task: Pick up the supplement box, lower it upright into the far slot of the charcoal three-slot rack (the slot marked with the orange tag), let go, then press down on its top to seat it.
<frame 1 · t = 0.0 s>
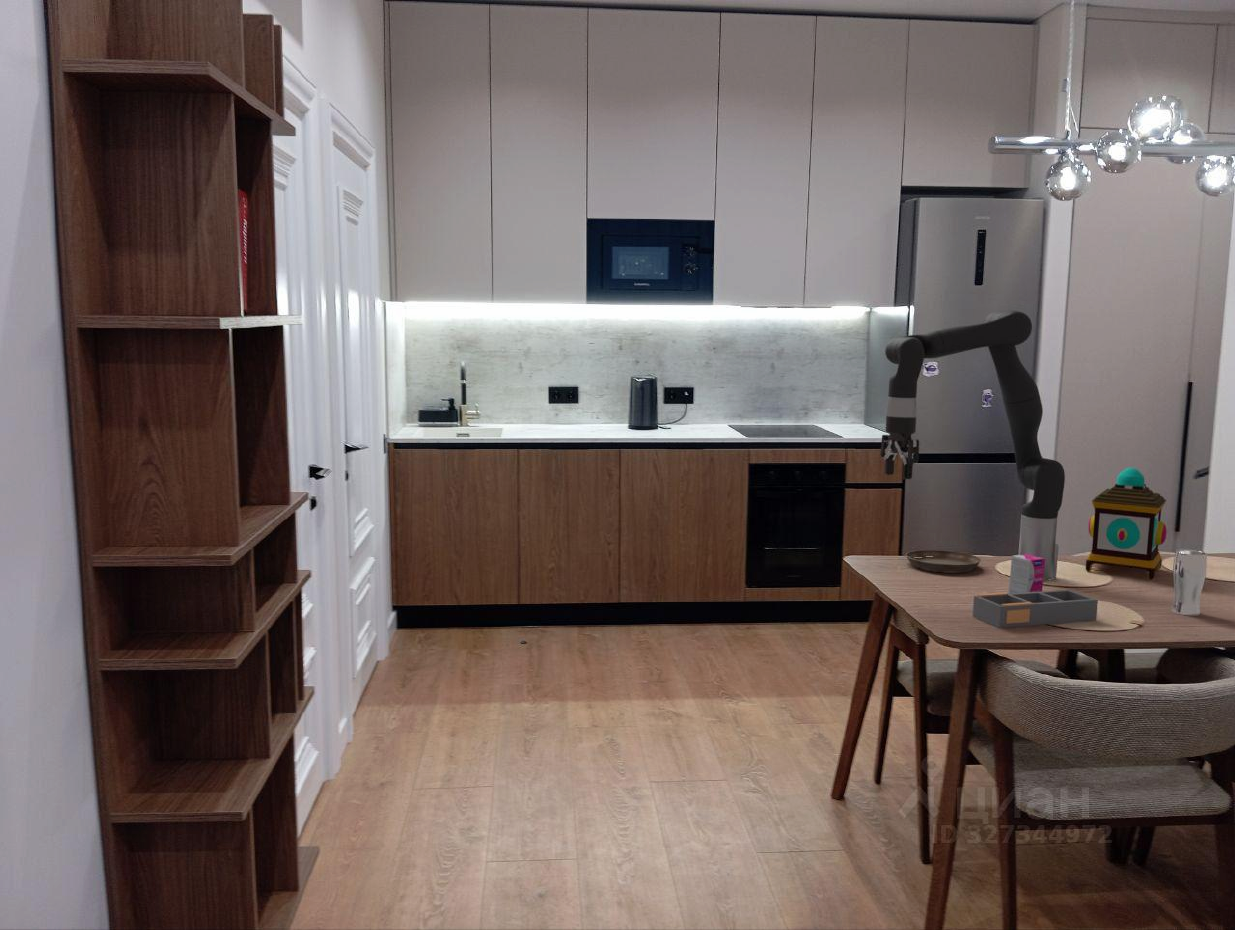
hand: (898, 476, 256), 29 cm above the table, tool pointing down, fingers open, 8 cm apart
supplement box: (1024, 601, 247), on the table
rack: (1034, 618, 231), on the table
plant saucer: (942, 568, 283), on the table
beer glass: (1185, 613, 238), on the table
decorative lantern: (1123, 571, 282), on the table
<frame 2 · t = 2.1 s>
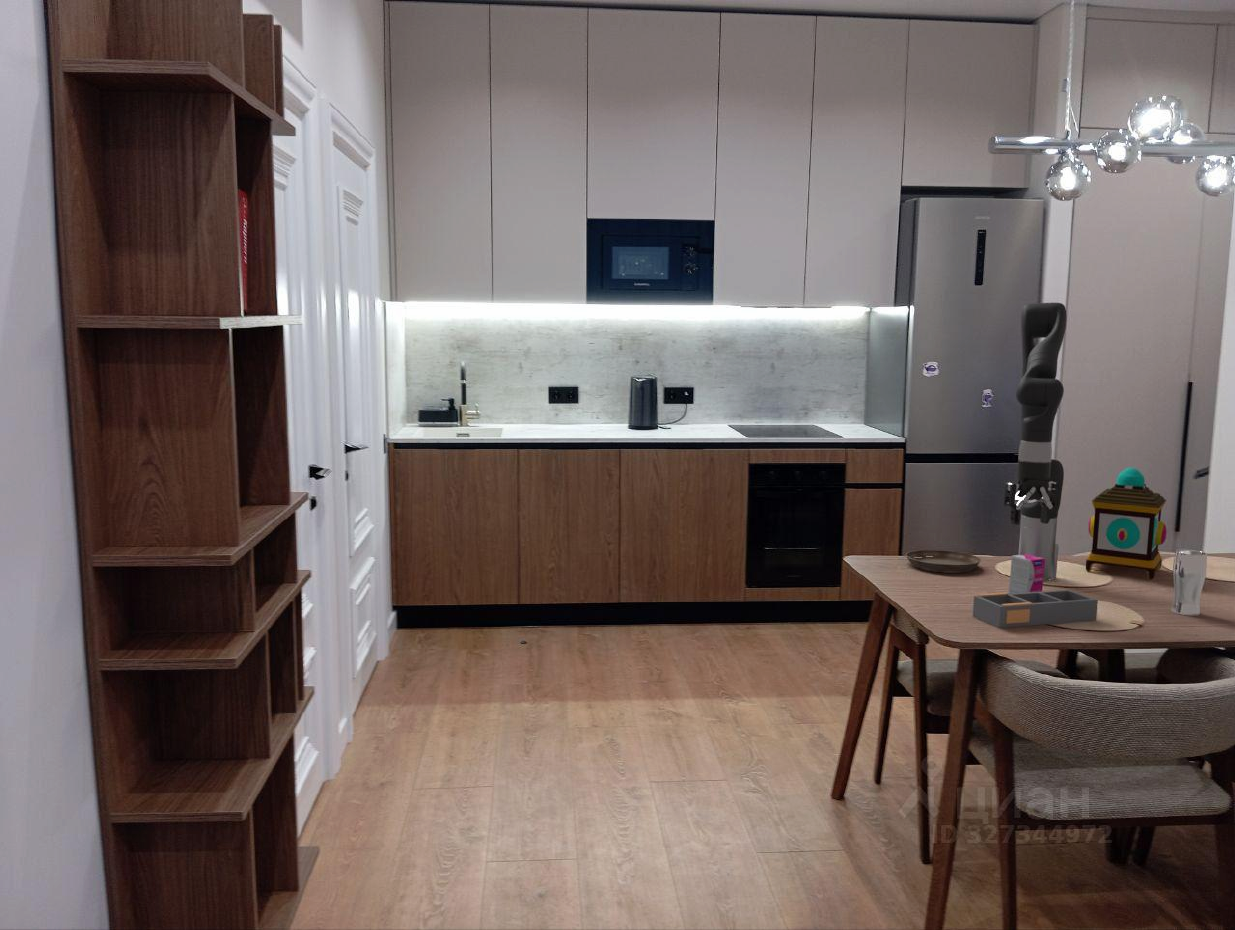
hand: (1029, 523, 244), 20 cm above the table, tool pointing down, fingers open, 8 cm apart
nothing on the table moved.
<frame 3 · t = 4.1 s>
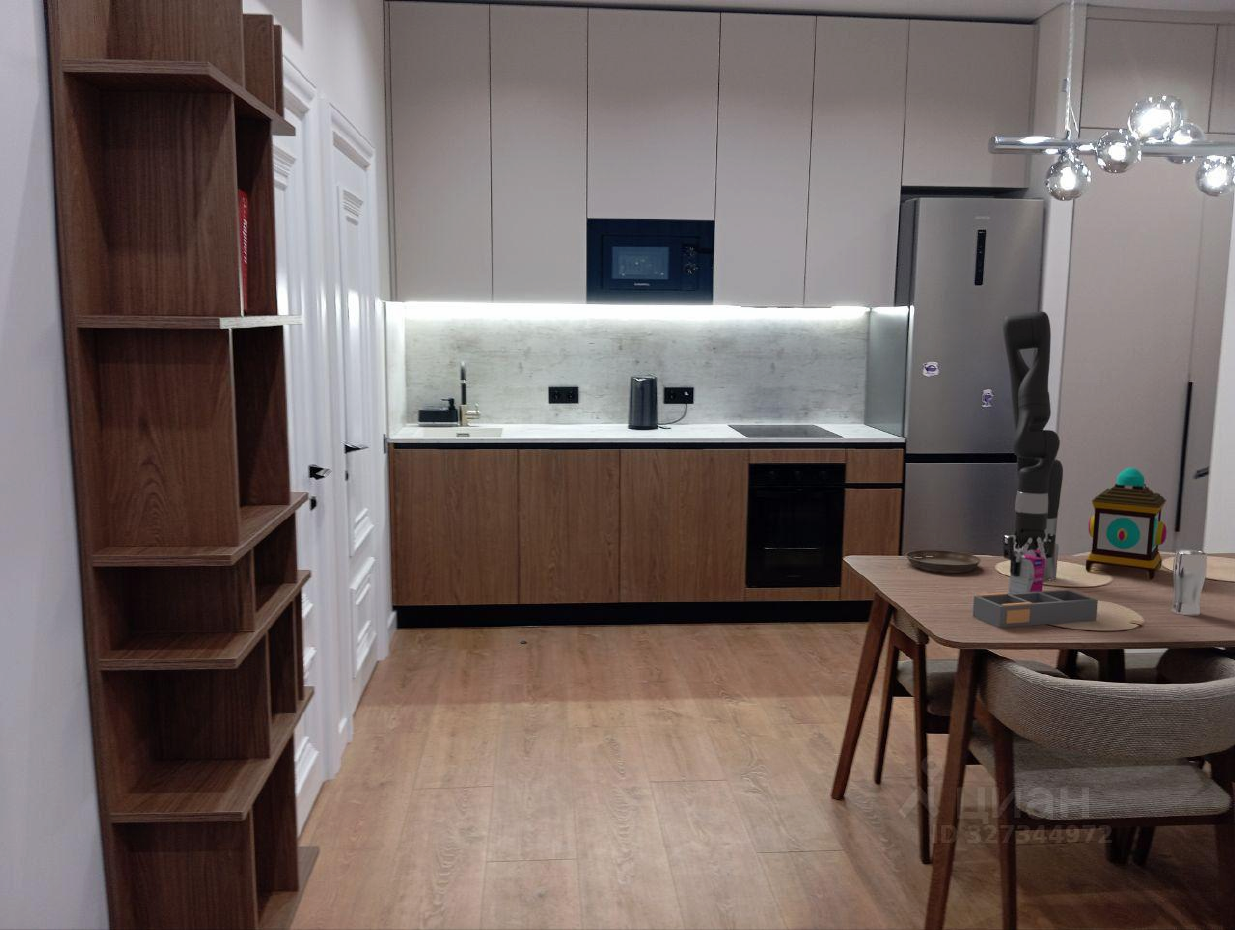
hand: (1026, 575, 246), 7 cm above the table, tool pointing down, fingers closed on supplement box, 6 cm apart
supplement box: (1024, 601, 247), on the table, touching gripper
everything else where it was.
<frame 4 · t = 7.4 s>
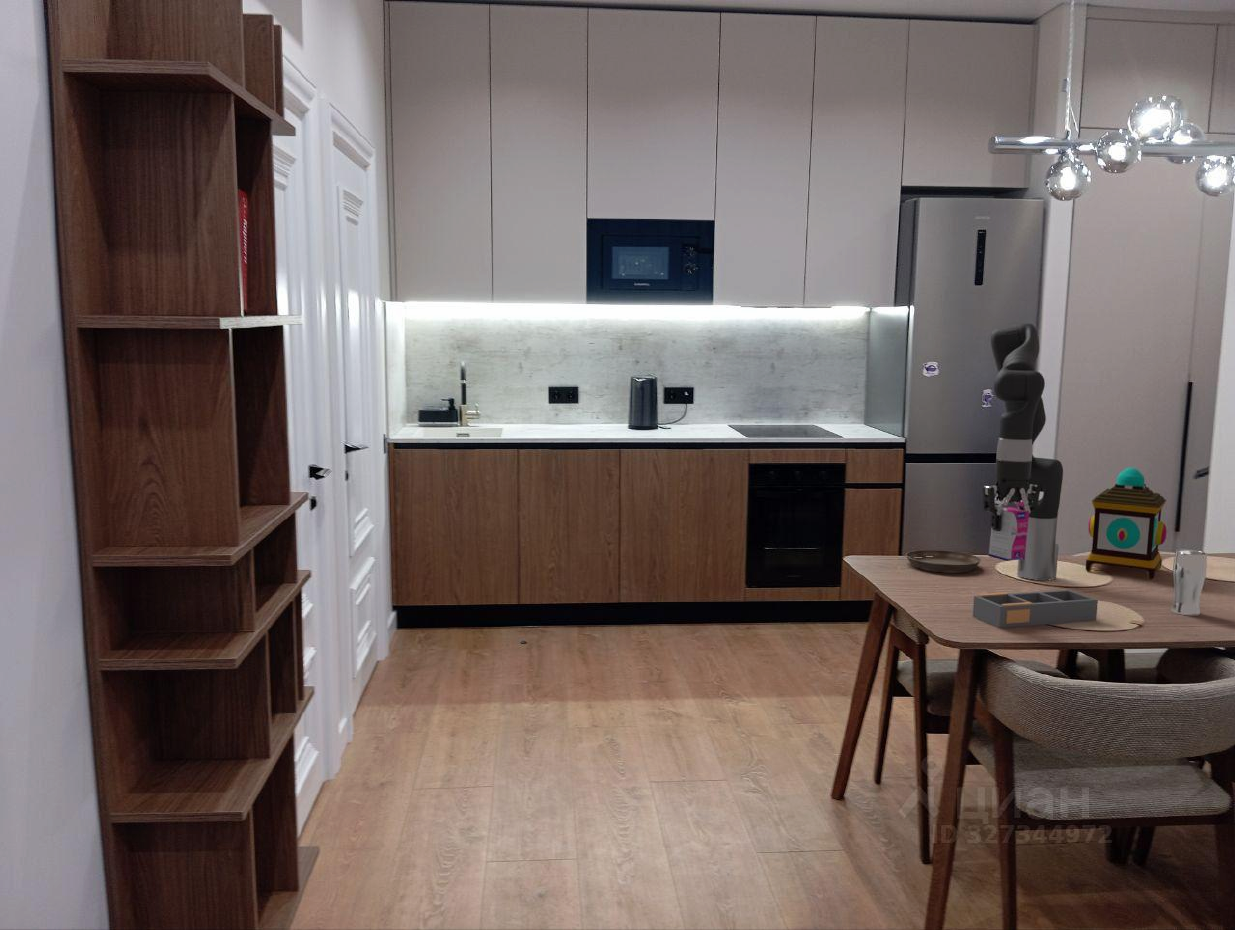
hand: (1009, 529, 226), 22 cm above the table, tool pointing down, fingers closed on supplement box, 6 cm apart
supplement box: (1006, 558, 227), point 15 cm above the table, touching gripper
everything else where it was.
when the fingers open (8 cm above the table, at t = 10.9 s): supplement box drops 1 cm, resting in rack.
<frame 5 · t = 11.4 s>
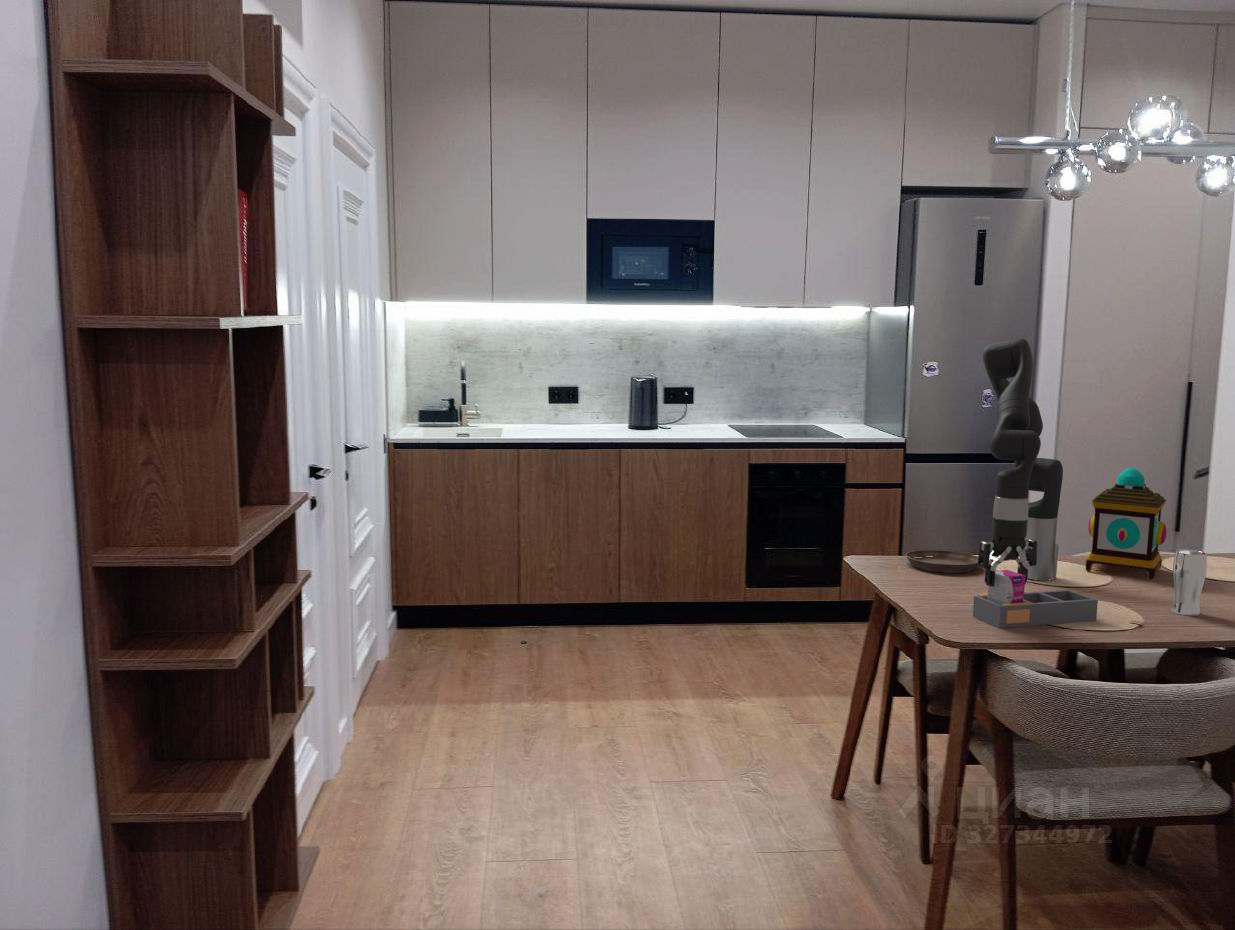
hand: (1005, 584, 227), 9 cm above the table, tool pointing down, fingers open, 8 cm apart
supplement box: (1003, 621, 229), resting in rack
everything else where it was.
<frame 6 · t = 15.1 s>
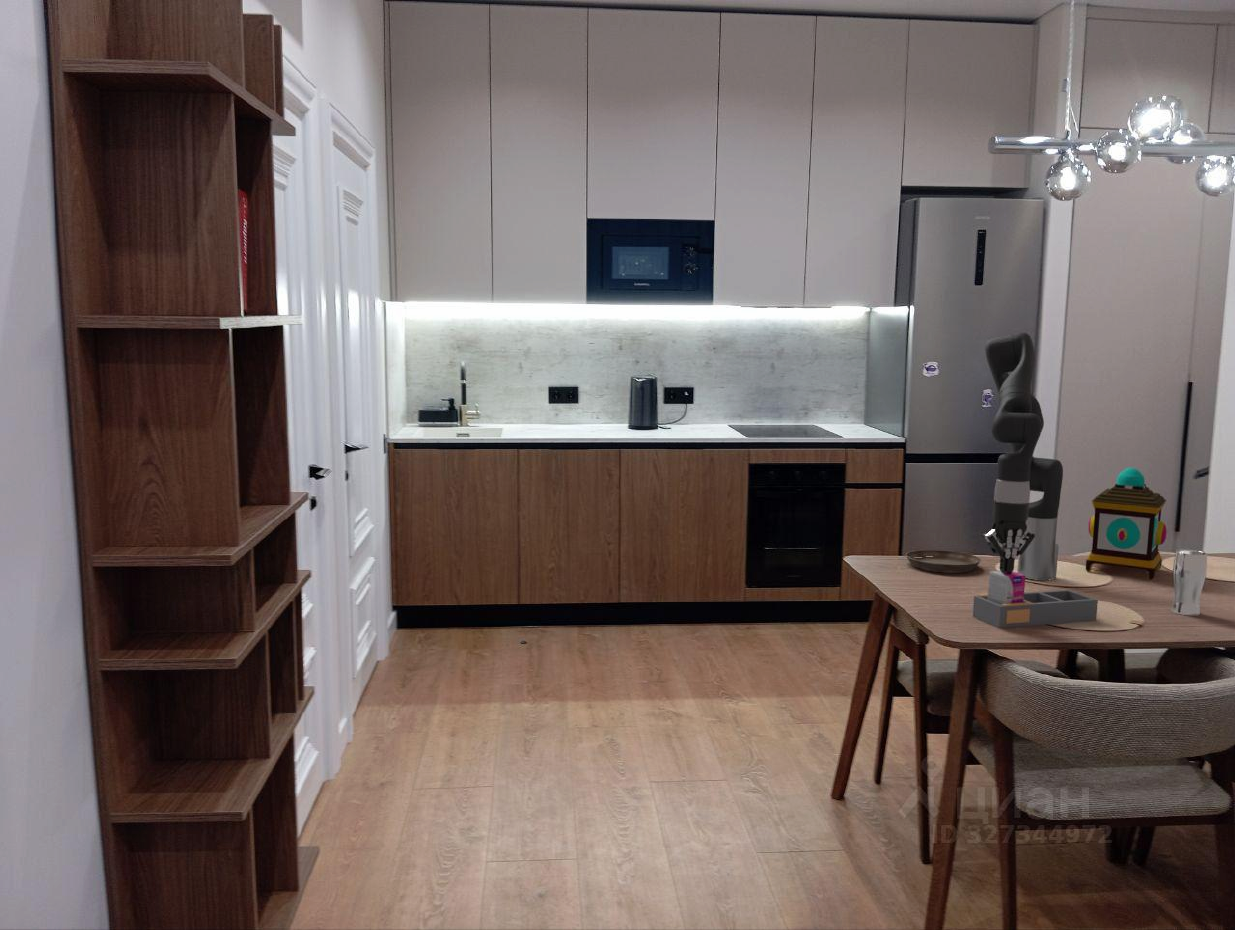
hand: (1006, 573, 227), 11 cm above the table, tool pointing down, fingers closed
supplement box: (1003, 621, 229), resting in rack, touching gripper
everything else where it was.
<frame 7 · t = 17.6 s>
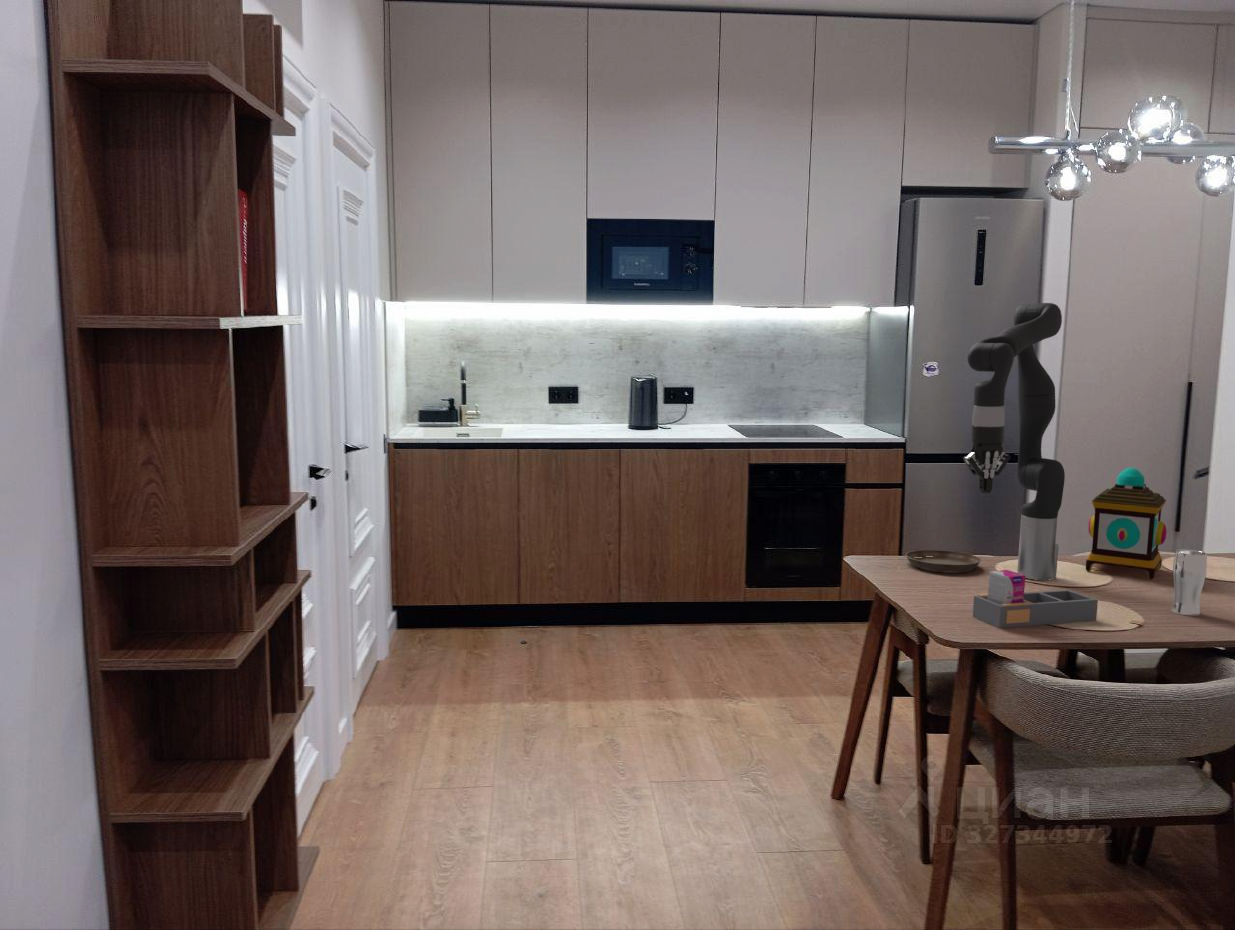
hand: (985, 492, 246), 27 cm above the table, tool pointing down, fingers closed
supplement box: (1003, 621, 229), resting in rack
everything else where it was.
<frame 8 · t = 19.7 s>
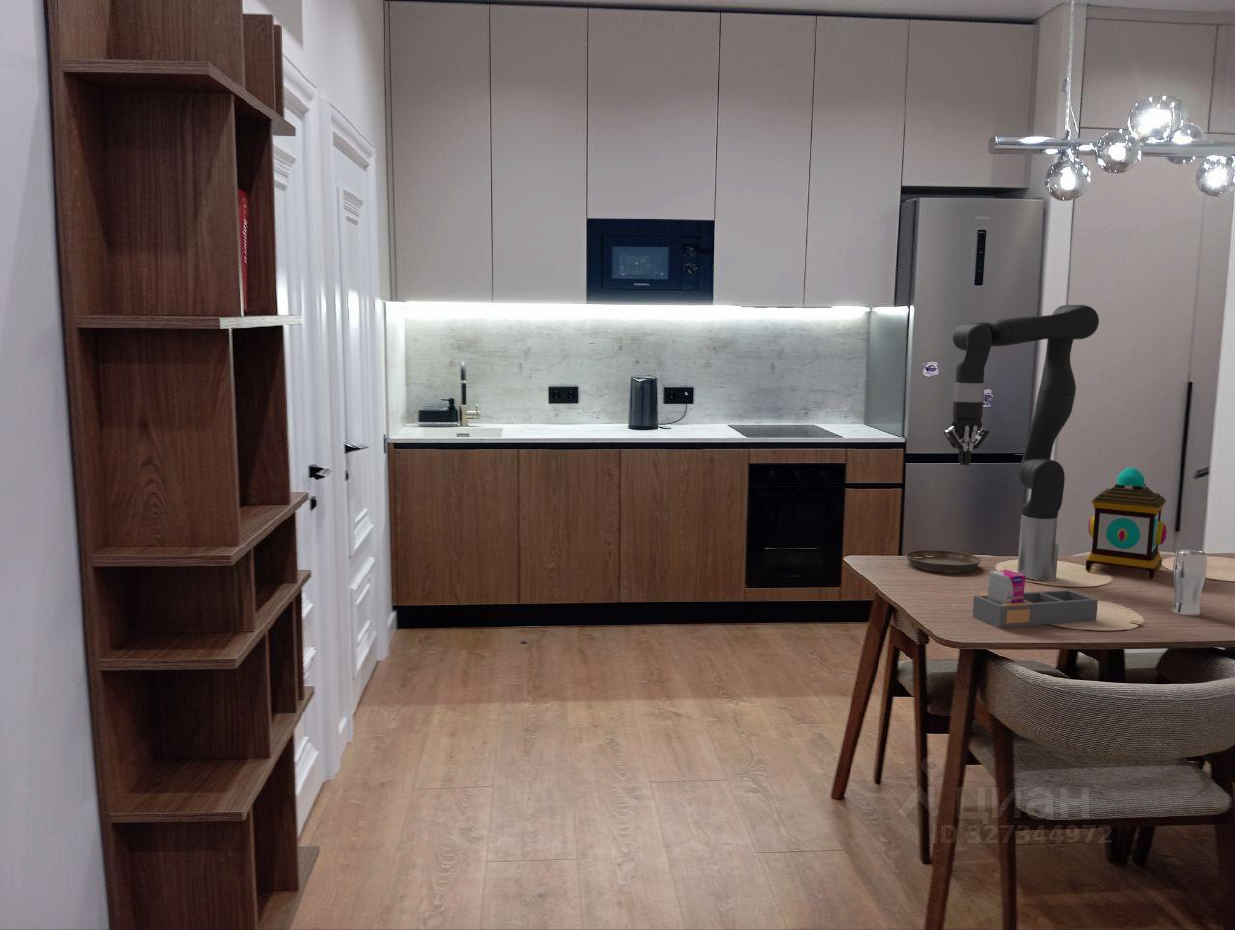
hand: (964, 464, 261), 32 cm above the table, tool pointing down, fingers closed
nothing on the table moved.
at the end: supplement box 0.4 cm from the target spot on the rack, point 0.0 cm above the rack's base; supplement box tilted 0°; the gripper is holding nothing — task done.
